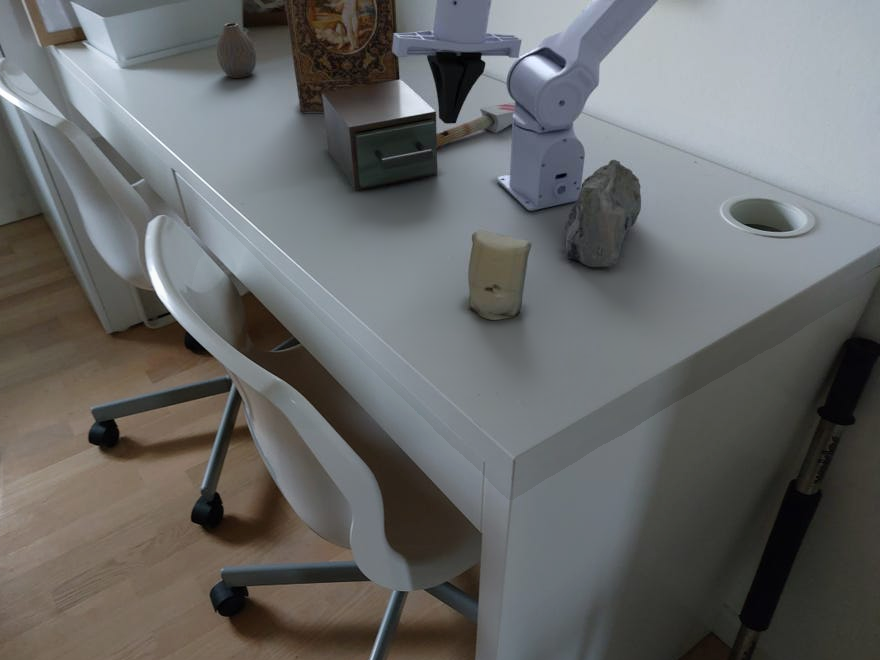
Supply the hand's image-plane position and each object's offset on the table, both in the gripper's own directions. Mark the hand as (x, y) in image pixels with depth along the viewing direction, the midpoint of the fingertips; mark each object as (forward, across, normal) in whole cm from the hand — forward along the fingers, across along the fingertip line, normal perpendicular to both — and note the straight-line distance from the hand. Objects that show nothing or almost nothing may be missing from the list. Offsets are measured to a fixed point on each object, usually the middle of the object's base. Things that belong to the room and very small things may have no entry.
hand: (447, 120), depth 83 cm
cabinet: (+11, +2, -15) cm, 19 cm away
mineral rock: (+8, -14, +16) cm, 23 cm away
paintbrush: (+9, -16, -19) cm, 26 cm away
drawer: (+10, +2, -11) cm, 15 cm away
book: (+12, 0, -38) cm, 40 cm away
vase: (+14, +13, -63) cm, 66 cm away
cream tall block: (+11, +2, +23) cm, 26 cm away
